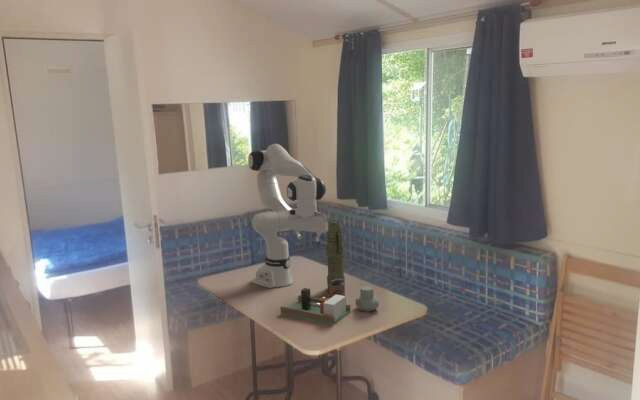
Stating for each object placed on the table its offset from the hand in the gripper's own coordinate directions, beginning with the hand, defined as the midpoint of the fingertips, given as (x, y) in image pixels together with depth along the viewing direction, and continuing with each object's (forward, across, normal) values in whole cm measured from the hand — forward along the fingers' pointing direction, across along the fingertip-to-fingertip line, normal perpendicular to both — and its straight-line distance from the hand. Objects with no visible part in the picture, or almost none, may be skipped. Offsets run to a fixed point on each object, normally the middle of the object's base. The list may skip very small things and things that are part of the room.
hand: (308, 240), depth 237 cm
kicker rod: (+29, -8, +9) cm, 32 cm away
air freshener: (+31, -27, -5) cm, 41 cm away
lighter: (+31, -9, -10) cm, 34 cm away
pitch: (+31, -8, +9) cm, 33 cm away
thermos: (+31, -2, -22) cm, 38 cm away
